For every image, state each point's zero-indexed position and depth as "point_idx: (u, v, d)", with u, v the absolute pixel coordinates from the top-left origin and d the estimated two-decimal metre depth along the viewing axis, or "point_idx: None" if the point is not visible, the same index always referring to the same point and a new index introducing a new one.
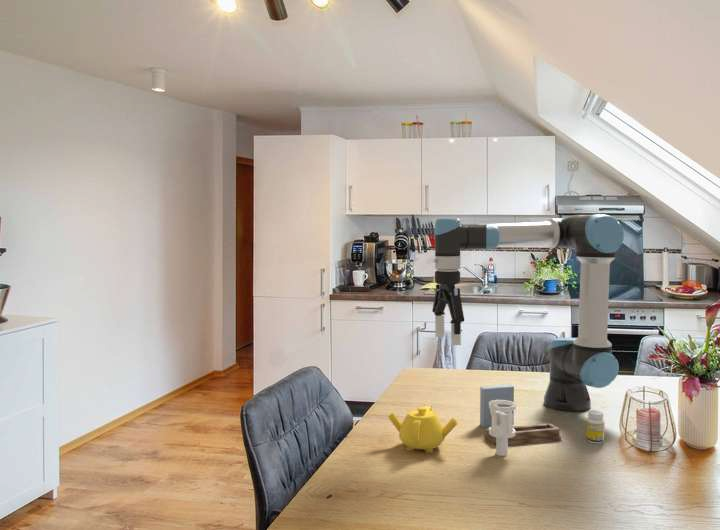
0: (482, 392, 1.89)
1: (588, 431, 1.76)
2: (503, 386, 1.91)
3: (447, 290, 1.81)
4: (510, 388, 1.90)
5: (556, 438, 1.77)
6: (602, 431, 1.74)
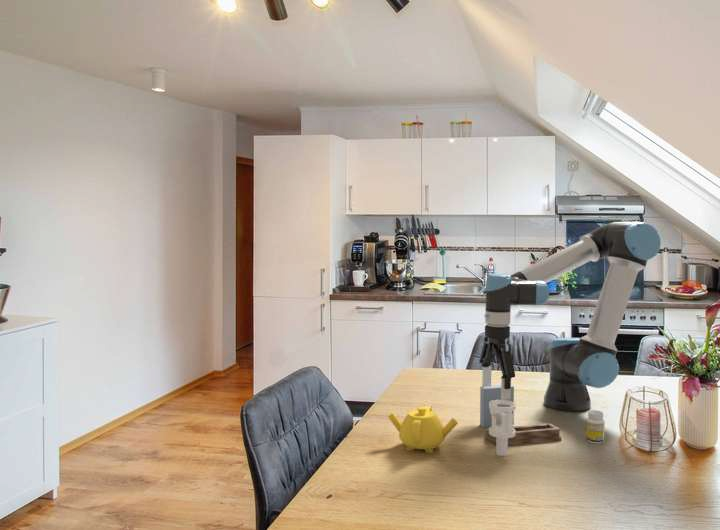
0: (482, 392, 1.89)
1: (588, 431, 1.76)
2: None
3: (497, 345, 1.86)
4: None
5: (556, 438, 1.77)
6: (602, 431, 1.74)
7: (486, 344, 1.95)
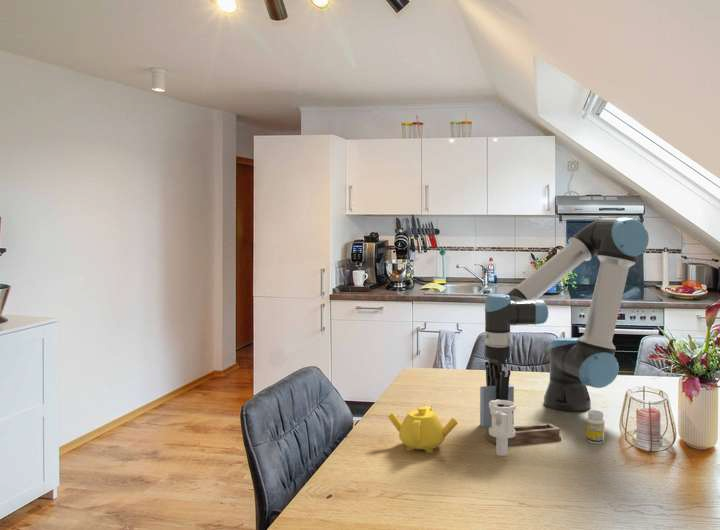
0: (482, 392, 1.89)
1: (588, 431, 1.76)
2: None
3: (498, 365, 1.87)
4: (510, 388, 1.90)
5: (556, 438, 1.77)
6: (602, 431, 1.74)
7: (488, 368, 1.95)
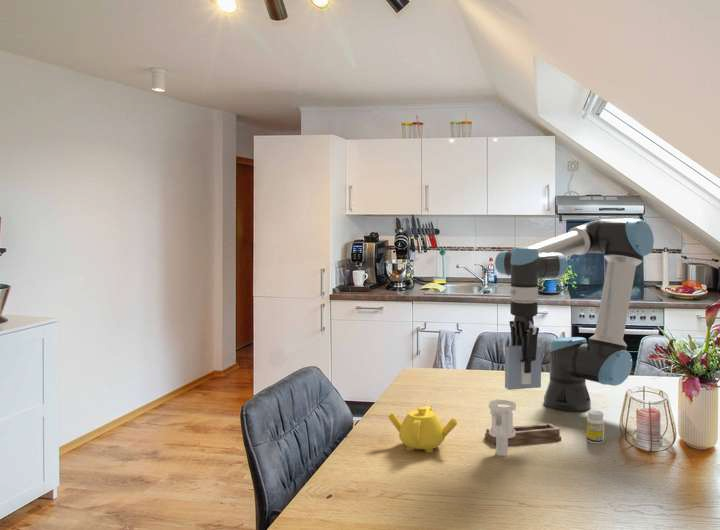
0: (507, 352, 1.76)
1: (588, 431, 1.76)
2: None
3: (525, 322, 1.74)
4: (537, 348, 1.77)
5: (556, 438, 1.77)
6: (602, 431, 1.74)
7: (513, 328, 1.81)
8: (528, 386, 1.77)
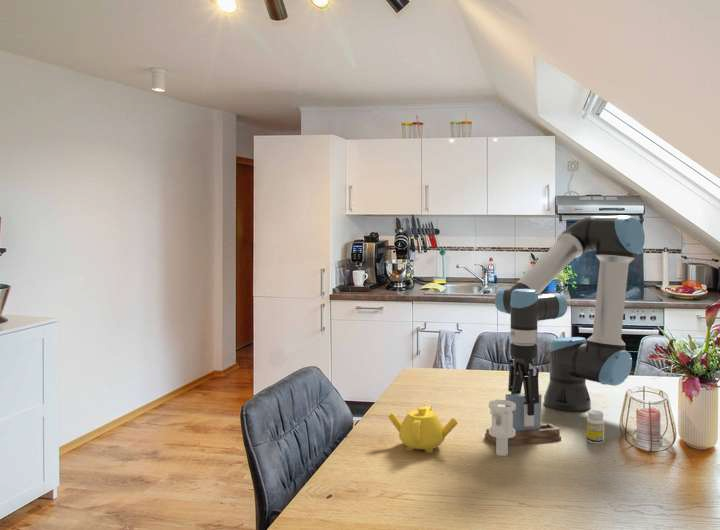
0: None
1: (588, 431, 1.76)
2: None
3: (524, 365, 1.74)
4: None
5: (556, 438, 1.77)
6: (602, 431, 1.74)
7: (512, 367, 1.83)
8: None
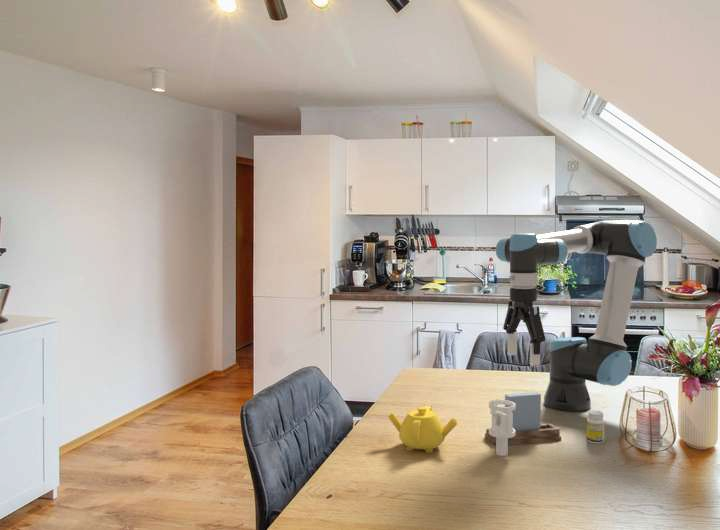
0: (507, 400, 1.77)
1: (588, 431, 1.76)
2: (529, 394, 1.78)
3: (524, 308, 1.75)
4: (537, 396, 1.78)
5: (556, 438, 1.77)
6: (602, 431, 1.74)
7: (511, 309, 1.83)
8: None
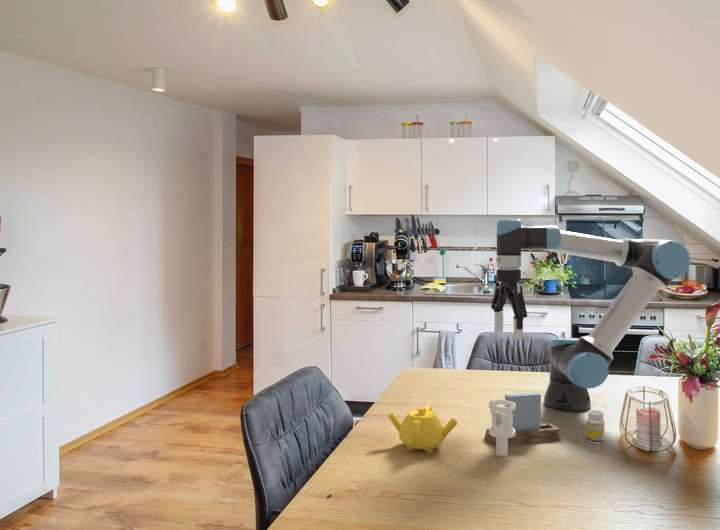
0: (507, 400, 1.77)
1: (588, 431, 1.76)
2: (529, 394, 1.78)
3: (509, 287, 1.91)
4: (537, 396, 1.78)
5: (556, 438, 1.77)
6: (602, 431, 1.74)
7: (498, 289, 2.00)
8: None
